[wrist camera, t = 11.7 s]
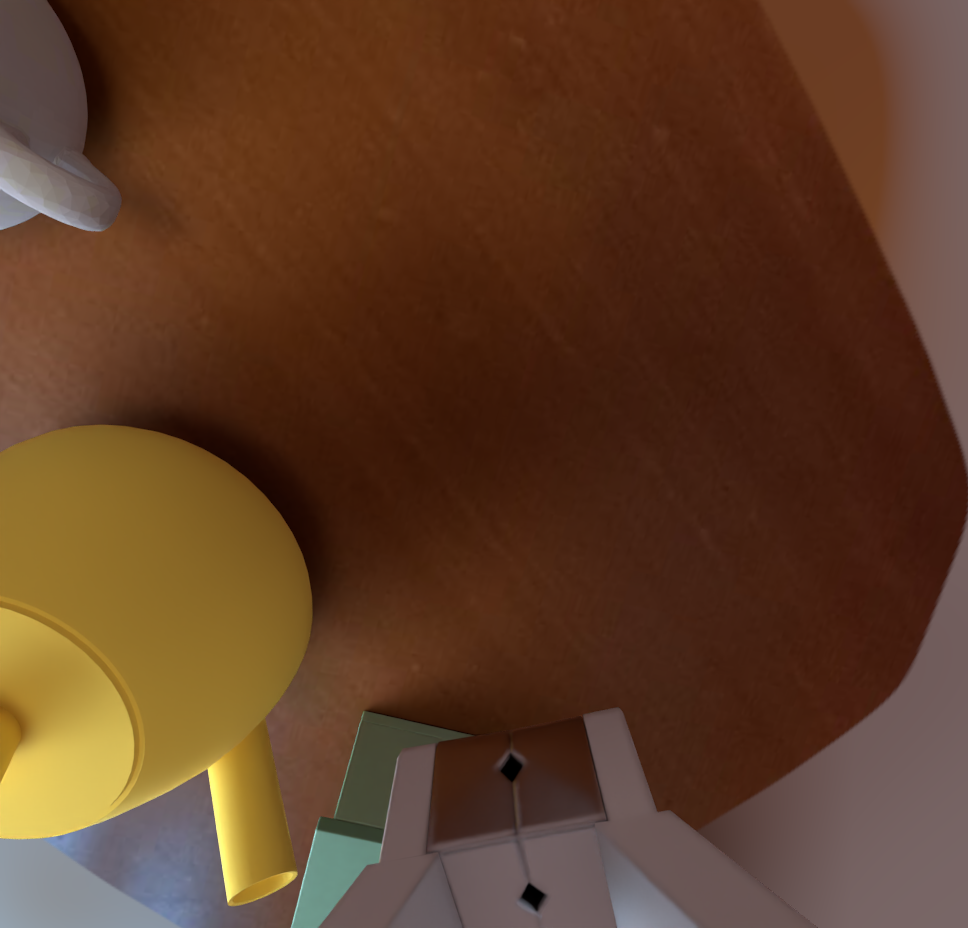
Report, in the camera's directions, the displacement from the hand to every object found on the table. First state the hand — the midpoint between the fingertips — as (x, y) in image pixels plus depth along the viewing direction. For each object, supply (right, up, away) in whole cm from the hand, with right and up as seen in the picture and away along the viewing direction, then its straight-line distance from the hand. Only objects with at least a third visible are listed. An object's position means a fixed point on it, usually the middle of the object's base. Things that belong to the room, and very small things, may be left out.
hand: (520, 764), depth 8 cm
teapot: (-15, -2, +22) cm, 27 cm away
